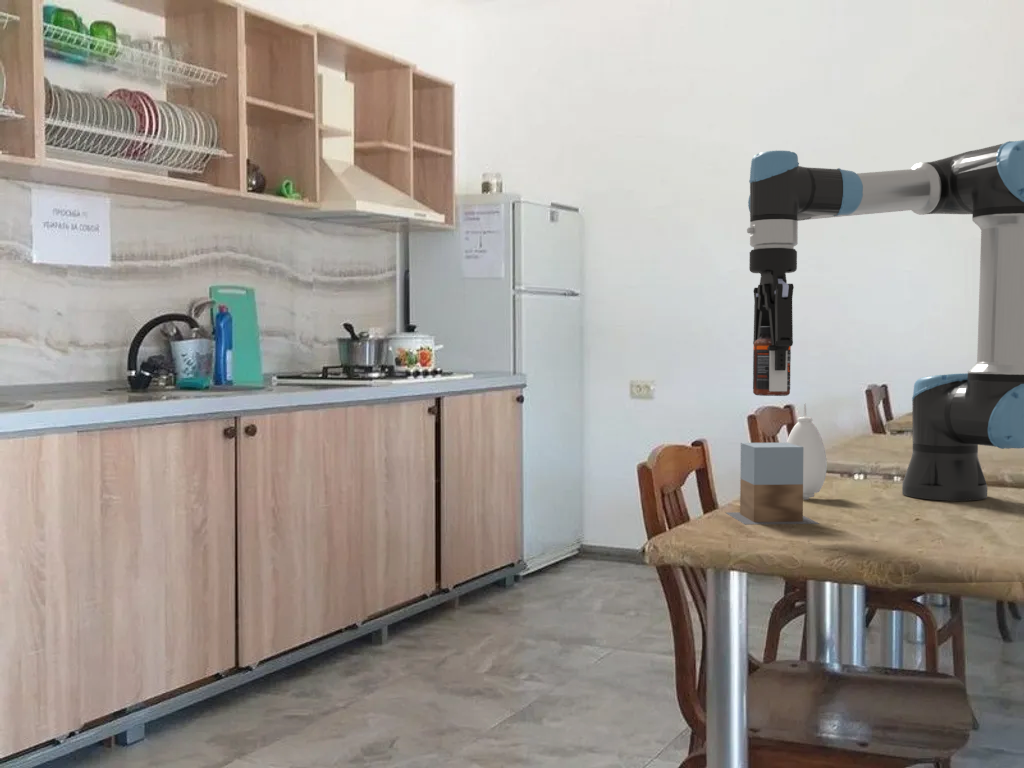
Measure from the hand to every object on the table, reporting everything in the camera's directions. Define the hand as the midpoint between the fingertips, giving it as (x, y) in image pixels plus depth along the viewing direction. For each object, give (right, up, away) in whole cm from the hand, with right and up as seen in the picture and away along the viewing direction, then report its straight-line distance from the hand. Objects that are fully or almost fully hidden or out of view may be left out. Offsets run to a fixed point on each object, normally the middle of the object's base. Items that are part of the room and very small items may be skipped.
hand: (771, 390), depth 177 cm
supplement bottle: (0, -1, 0) cm, 1 cm away
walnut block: (0, -21, +1) cm, 21 cm away
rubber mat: (0, -22, +1) cm, 22 cm away
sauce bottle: (+12, -21, +27) cm, 36 cm away
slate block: (0, -15, +1) cm, 15 cm away
